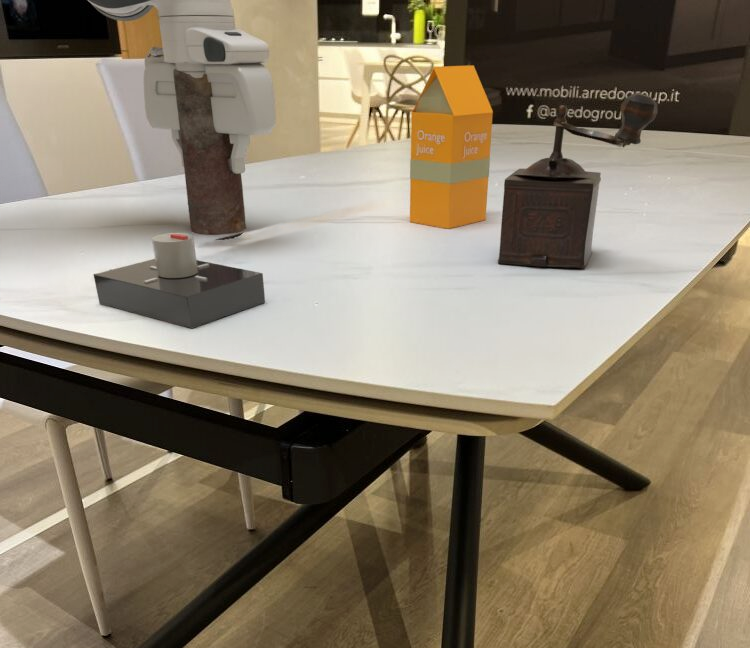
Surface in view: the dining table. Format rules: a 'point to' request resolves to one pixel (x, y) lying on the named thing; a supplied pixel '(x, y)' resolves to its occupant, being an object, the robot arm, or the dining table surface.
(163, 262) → the knob
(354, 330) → the dining table surface
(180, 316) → the dark grey flat block
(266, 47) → the robot arm
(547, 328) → the dining table surface
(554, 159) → the manual coffee grinder
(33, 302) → the dining table surface
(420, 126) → the orange juice
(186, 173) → the rusty brown cylinder
